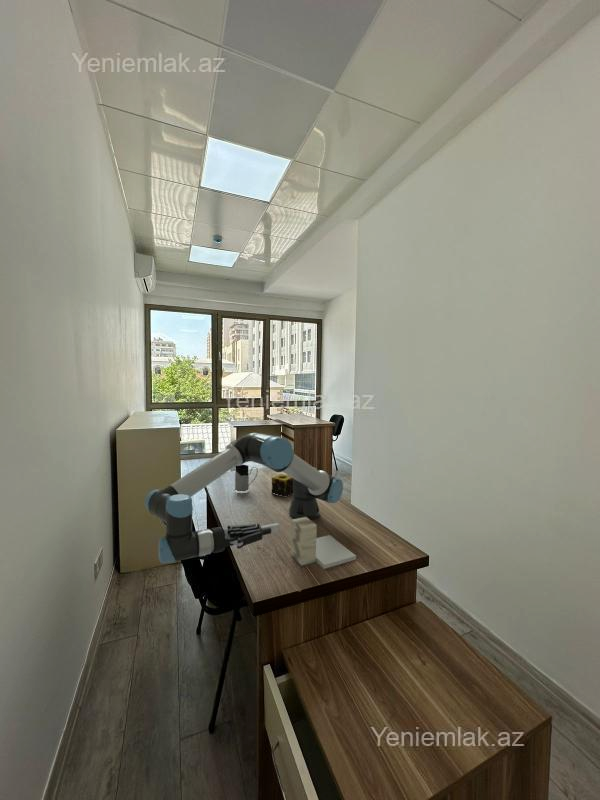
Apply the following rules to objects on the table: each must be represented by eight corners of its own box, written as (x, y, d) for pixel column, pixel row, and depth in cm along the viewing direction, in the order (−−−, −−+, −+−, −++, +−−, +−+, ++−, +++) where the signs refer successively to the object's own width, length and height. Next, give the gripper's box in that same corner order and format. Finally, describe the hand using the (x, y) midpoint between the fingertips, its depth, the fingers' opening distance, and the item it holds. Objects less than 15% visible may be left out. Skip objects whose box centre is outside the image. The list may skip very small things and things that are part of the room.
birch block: (291, 555, 124) (292, 519, 123) (305, 552, 127) (306, 516, 126) (301, 566, 117) (302, 528, 116) (315, 562, 120) (316, 525, 119)
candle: (295, 492, 193) (295, 476, 193) (285, 497, 185) (285, 480, 184) (281, 489, 199) (281, 473, 198) (271, 494, 190) (271, 477, 189)
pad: (300, 545, 131) (300, 542, 131) (329, 538, 138) (329, 535, 138) (324, 569, 115) (324, 564, 115) (355, 559, 122) (355, 555, 122)
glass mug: (232, 489, 196) (232, 465, 195) (254, 486, 203) (254, 462, 202) (237, 494, 188) (237, 468, 187) (260, 490, 195) (260, 466, 194)
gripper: (206, 543, 111) (270, 530, 122) (215, 562, 99) (285, 546, 110) (206, 521, 110) (271, 510, 121) (216, 538, 99) (286, 524, 110)
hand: (278, 527), depth 116 cm, fingers closed
